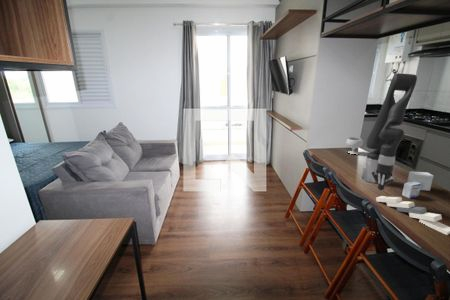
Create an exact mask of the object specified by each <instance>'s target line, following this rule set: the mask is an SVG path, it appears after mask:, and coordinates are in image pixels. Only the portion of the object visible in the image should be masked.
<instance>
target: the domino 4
mask: <svg viewBox="0 0 450 300" xmlns="http://www.w3.org/2000/svg"><path fill="white" fill-rule="evenodd" d="M408 215H409V218H413V219H418V220H420V219H423V220H428V221H434V222H435V221H437V222H439V221H441V220H442V219H443V217H442V214H439V213H434V212H428V211H427V212H426V213H423V214H414V213H408Z"/></svg>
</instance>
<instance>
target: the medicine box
mask: <svg viewBox="0 0 450 300" xmlns="http://www.w3.org/2000/svg"><path fill="white" fill-rule="evenodd" d="M420 188H421V184H420V183H418V182H415V181H413V182H408V183H407V182H405V183H404V184H403V189H402V194H401V195H402V196H403V197H405V198H407V199H412V198H416V197H419V195H420V191H421V190H420Z"/></svg>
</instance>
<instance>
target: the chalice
mask: <svg viewBox="0 0 450 300" xmlns="http://www.w3.org/2000/svg"><path fill="white" fill-rule="evenodd" d="M345 144H346V146H348V147H350V148H351V150H348V153H350V154H349V155H351V154H356V155H355V156H359V155H360V154H361V153H360V152H359V151H355V150H356V149H358V148H361V147H362V146H363V144H364V141H363V139H362V138H359V137H354V136H353V137H348V138H347V139H346V142H345ZM358 154H359V155H358Z"/></svg>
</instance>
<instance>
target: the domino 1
mask: <svg viewBox="0 0 450 300" xmlns="http://www.w3.org/2000/svg"><path fill="white" fill-rule="evenodd" d="M375 201H376V203H377V202H378V203H380V202H381V203H386V202H389V203H398V202H401V201H403V198H402V196H390V195H389V196H388V195H387V196H386V195H380V196H377V197H375Z"/></svg>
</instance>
